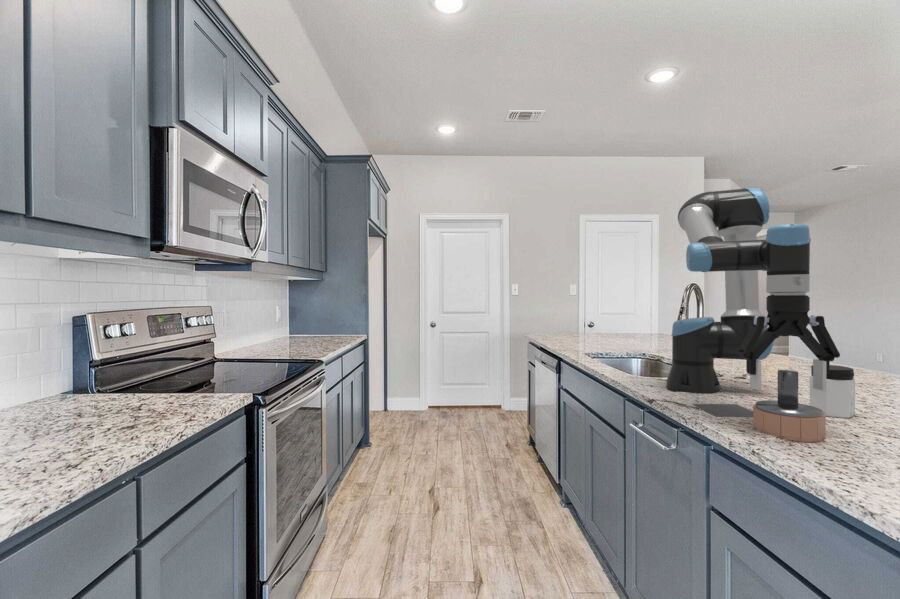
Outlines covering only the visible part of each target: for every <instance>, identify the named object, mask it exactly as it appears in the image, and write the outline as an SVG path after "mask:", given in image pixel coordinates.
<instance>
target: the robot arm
mask: <svg viewBox="0 0 900 599" xmlns="http://www.w3.org/2000/svg"><path fill="white" fill-rule="evenodd" d="M770 212H771V209H770V203H769V199H768V196H767V194H766V192H765V191H764V190H763V189H762V188H758V187H752V188H751V187H749V188H748V187H744V188H736V189H735V188H734V189H727V190H716V191H706V192H701V193H699V194H696V195H693V196H692V197H690V198H689V199H688V200H687V201H685V202H684V203H683V205H681V207H680V208H679V210H678V213H677V222H678V225H679V227H680V228H681V230H683V231H685V233H686V237H687V240H688V242H689V244H688V246H687V247H686V254H685V262H686V268H687V270H688V271H689V272H694V273H695V272H697V273H698V272H701V273H707V272H708V273H709V272H711V273H712V272H724V288H725V293H724V294H725V312H723V314H721V315H720V321H715V319H714V317H712V316H704V317H703V316H702V317H692V318H691V317H690V318H684V319H683V318H682V319H678V320H676V321H674V322H673V324H672V331H671V337H672V343H671V344H672V347H671V348H672V349H671V350H672V352H671V353H672V354H671V357H672V358H671V360H672V362H671V367H670V370H669V372H668V376H667V378H666V384H665V386H666V389H667V390H670V391H673V392H677V393H681V392H682V393H688V394H689V393H690V394H702V395H703V394H704V395H705V394H710V395H711V394H717V393H721V383H720V381H719V379H718V376H717V373H716V370H715V365H714V362H715V359H721V360H722V359H723V360H742V361H743V360H744V361H745V363H746V364H745V365H746V374H748V375H749V388H750V389H753V390H756V391H762V360H765V359H767V358H768V357H769V355H770V354H771V352H772V350H773V345H774V342H775V340H776V339H778V338H780V337H789V336H791V337H797V338H799V339H800V340H801V342H802V343H803V344H804V345H805V346H806V347H807V348H808V349H809V350H810V352H811V353H812V354H813V355H814V356H815V357H816V358H815V359H814V358H813V359H812V365H813V388H815V389H818V390H822V391H826V375H829V366H830V365H831V364H830V362H834V361H835V359H838V358H840V356H841V353H840V352H839V350H838V348H837V346H836V343H835V342H834V340H833V339H832V336H831V334H830V333H829V330H828V329H827V327H826V323H825V317H824V316H823V315H814V314H813V315H810V316H809V315H808V313H809V312H810V310H811V309H810V308H811V305H810V304H811V303H810V300H811V299H810V298H811V297H810V296H809V295H807V293H809V292H810V282H811V281H810V269H811V268H810V266H811V265H810V264H811V263H810V262H811V260H810V259H811V258H810V257H811V255H810V254H811V253H810V251H811V249H810V248H811V240H812V239H811V234H810V227H809V226H808V225H807V224H804V223H787V224H778V225H772V226H769V228H767V230H766V236H765V237H766V238H765V239H758V238H757V237H758V236H757V235H758V234H759V233H760V232H761V231H762V230H763V226H764V225H767V223H768V222H769V219H770ZM722 237H723V238H722ZM759 271H762V272H766V283H765V284H766V285H765V286H766V288H765V291H766V292H765V293H767V294H769V295H767V296H766V304H765V306H766V307H765V309H766V311H767V312H766V313H767V315H765V314H764V313H763V312H761V311H760V293H759V292H760V291H759ZM808 325H809V326H810V327H811V330H812V331H813V333H814V336H815V337H814V336H813V333H812V332H811V330H810V329H809V328H808Z"/></svg>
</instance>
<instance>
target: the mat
mask: <svg viewBox="0 0 900 599" xmlns="http://www.w3.org/2000/svg"><path fill="white" fill-rule="evenodd" d="M691 405H693V406H694V407H696V408H698V409H700V410H702V411H704V412H707V413H708V414H710V415H712V416H713V417H716V418H718V417H719V418H720V417H722V418H725V417H726V418H753V410H751V409H748V408H746V407H744V406H742V405H740V404H737V403H732V404H729V403H692V404H691Z"/></svg>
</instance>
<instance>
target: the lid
mask: <svg viewBox="0 0 900 599" xmlns="http://www.w3.org/2000/svg"><path fill="white" fill-rule="evenodd" d="M755 404H756V408H757V409H759V410H761V411H764V412H768V413H772V414H776V415H781V416H788V417H797V418H818V417H821V416H822V413H823V412H822V410H821V409H819V408H816V407H813V406H810V404H805V403H799V371H797V370H790V369H778V370H777V400H772V399H771V400H769V399H767V400H764V399H763V400H759V401H756V402H755Z"/></svg>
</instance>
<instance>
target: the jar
mask: <svg viewBox="0 0 900 599" xmlns="http://www.w3.org/2000/svg"><path fill="white" fill-rule="evenodd" d="M810 369H811V370H810V371H811V373H810V374H811V375H810V376H809V405H810V406H813V407H816V408H819V409H821V410H822V412H823V414H824V415H825V416H826V417H830V418H831V417H832V418H841V419H842V418H843V419H850V418H853V417H854V416H856V378H854V377H855V373H854V370H855V369H854V368H852V367H848V366H842V365H835V364H833V365H831V364H830V366H829V375H826V391H822V390H818V389H815V388H813V364H812V365H811V366H810Z"/></svg>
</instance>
